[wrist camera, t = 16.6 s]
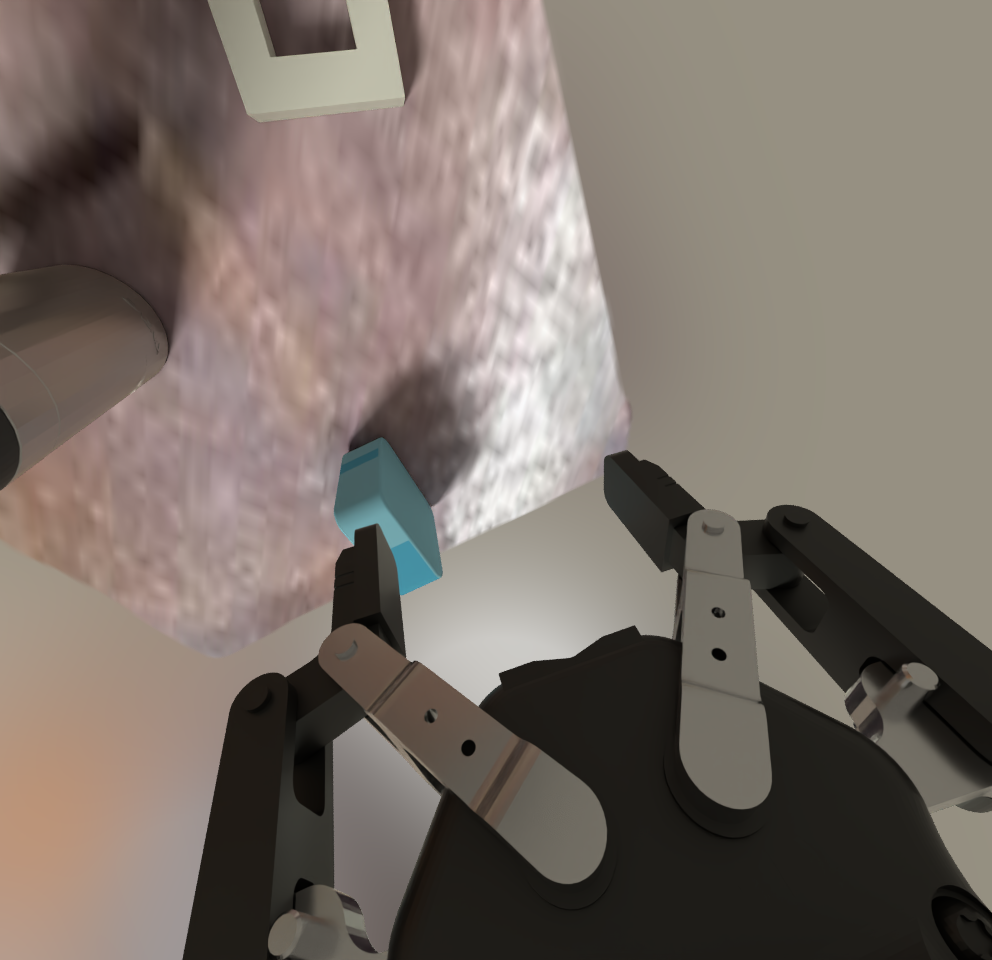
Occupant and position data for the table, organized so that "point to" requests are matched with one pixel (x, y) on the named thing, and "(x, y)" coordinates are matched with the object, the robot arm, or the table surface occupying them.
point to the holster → (311, 65)
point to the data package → (389, 511)
